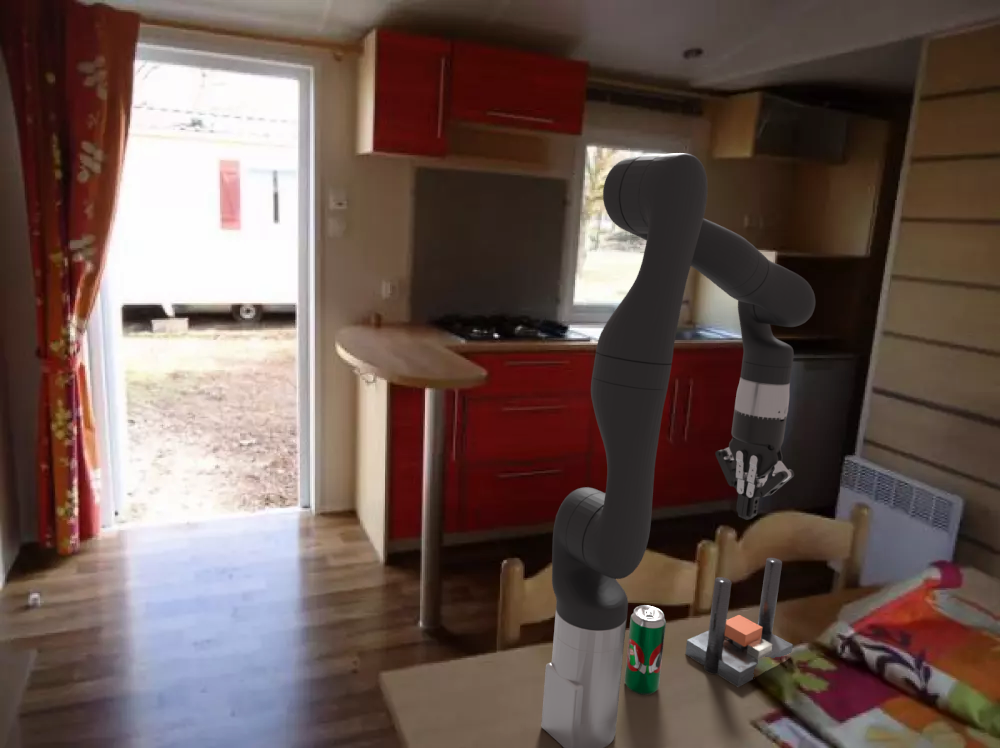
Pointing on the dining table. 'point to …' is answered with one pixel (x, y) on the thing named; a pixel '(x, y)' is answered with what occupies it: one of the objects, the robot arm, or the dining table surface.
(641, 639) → the soda can
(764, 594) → the twin post stand
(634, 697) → the dining table surface
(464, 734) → the dining table surface
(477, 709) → the dining table surface
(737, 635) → the button
